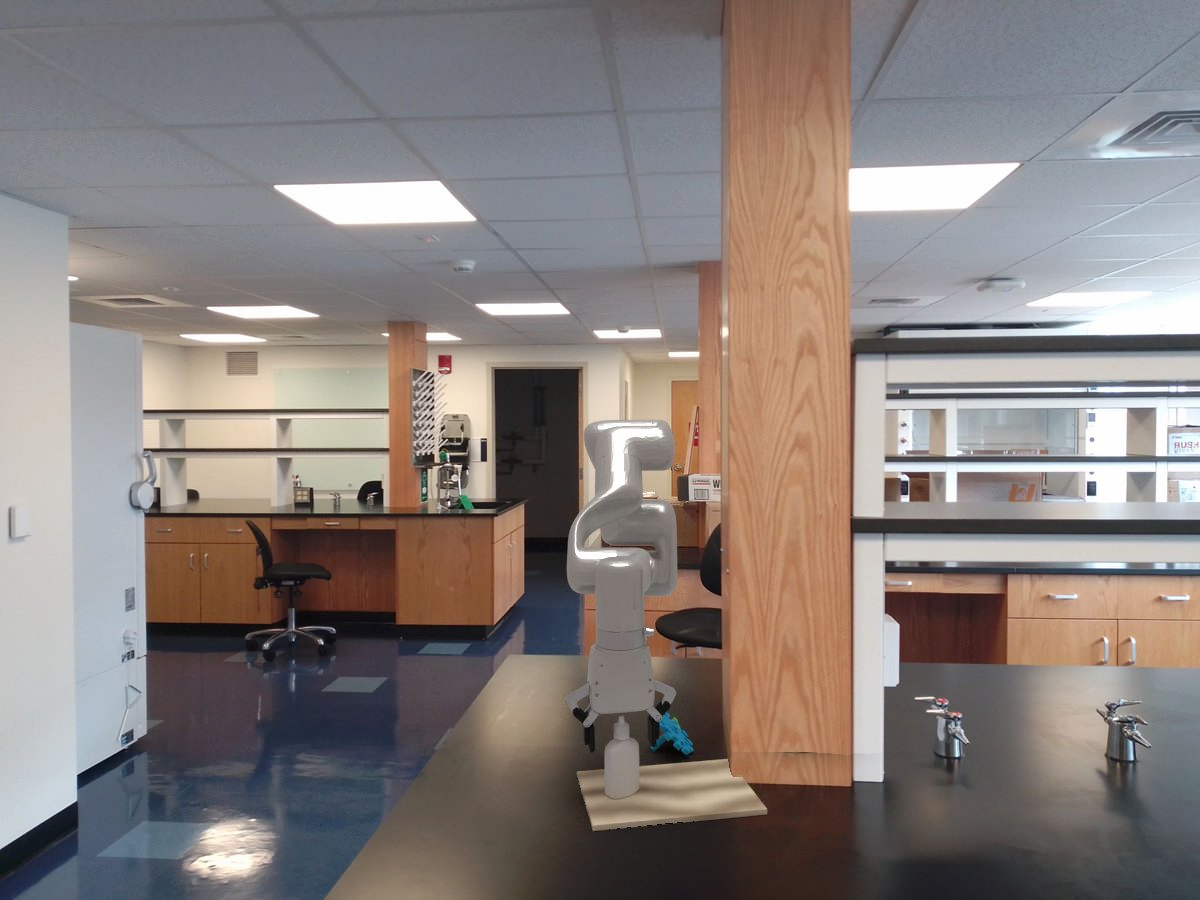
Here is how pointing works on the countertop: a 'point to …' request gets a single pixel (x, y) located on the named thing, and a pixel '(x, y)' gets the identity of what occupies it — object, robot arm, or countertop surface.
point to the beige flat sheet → (671, 796)
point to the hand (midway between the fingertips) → (621, 746)
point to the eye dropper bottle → (621, 763)
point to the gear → (673, 735)
